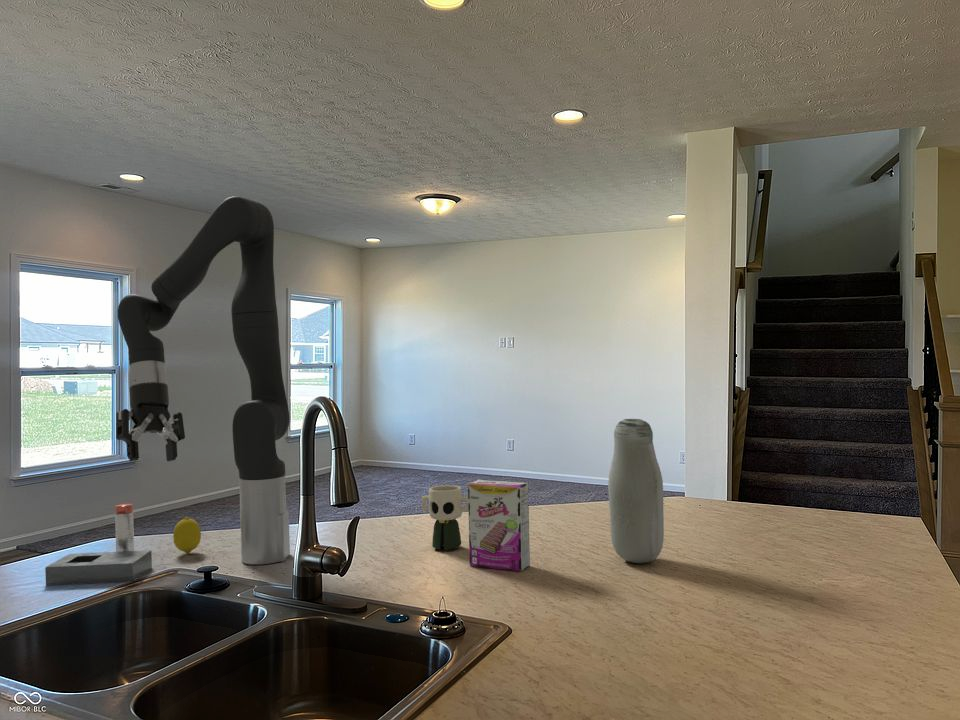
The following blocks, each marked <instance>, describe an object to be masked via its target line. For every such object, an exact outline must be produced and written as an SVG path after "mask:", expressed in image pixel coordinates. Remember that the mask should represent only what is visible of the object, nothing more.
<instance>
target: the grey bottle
mask: <svg viewBox="0 0 960 720" xmlns="http://www.w3.org/2000/svg"><path fill="white" fill-rule="evenodd" d="M613 440H614V442H613V443H614V445H613V456H612V460H611V463H610V464H611V465H610V470H609V474H608V482H607V483H608V484H607V485H608V486H607V487H608V488H607V489H608V504H609V525H610V526H609V527H610V528H609V530H610V539H611V540H610V541H611V544H612V546H613V548H614V551H615V552H616V554H617V555H618V556H619V557H620V558H621V559H622V560H625V561H627V562H629V563H634V564H646V563H651V562H652V561H654V560H655V559H657V558H658V557H659V555H660V554H661V552H662V549H663V545H664V539H665V538H664V537H665V536H664V535H665V534H664V533H665V529H664V528H665V527H664V524H665V523H664V520H665V519H664V482H663V476H662V471H661V468H660V465H659V462H658V459H657V455H656V451H655V446H654V441H653V440H654V432H653V430H652V426H651V425H650V423H648V422H647V421H645V420H643V419H642V418H641V419H640V418H624V419H622V420H620V421H619V422H618V423H617V424H616V426H615V428H614V431H613Z"/></svg>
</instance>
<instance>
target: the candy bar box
mask: <svg viewBox="0 0 960 720" xmlns="http://www.w3.org/2000/svg"><path fill="white" fill-rule="evenodd" d="M467 494H468V495H467V497H468V510H469V512H468V536H469V537H468V540H469V543H468V545H469V550H468V551H469V566H470V567H476V568H487V569H495V570H504V571H511V572H524V571H525V569H526V568H528V567H529V566H530V565H531V555H530V554H531V553H530V551H531V550H530V511H529V509H530V508H529V505H530V504H529V503H530V502H529V494H530V493H529V483H528V482H522V481H521V482H519V481H505V480H504V481H501V480H490V479H475V480H474V481H473V480H472V481H471V482H469V483H467Z"/></svg>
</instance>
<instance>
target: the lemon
mask: <svg viewBox="0 0 960 720" xmlns="http://www.w3.org/2000/svg"><path fill="white" fill-rule="evenodd" d="M172 536H173V543H174V546H175V547H176V548H177V549H178V550H179V551H181V552H183V553H184V554H187V555H189V554H191V552H192V551H193V550H195V549H196V548H198V546H199V544H200V542H201V540H202V539H201V538H202V531H201V528H200V525H199V523H198V522H197V521H196V520H195V519H193V518H190V517H189V516H185V517H184V518H183V519H181V520H180V521H178V522H177V523H176V525H175V526H174V530H173V535H172Z"/></svg>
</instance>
